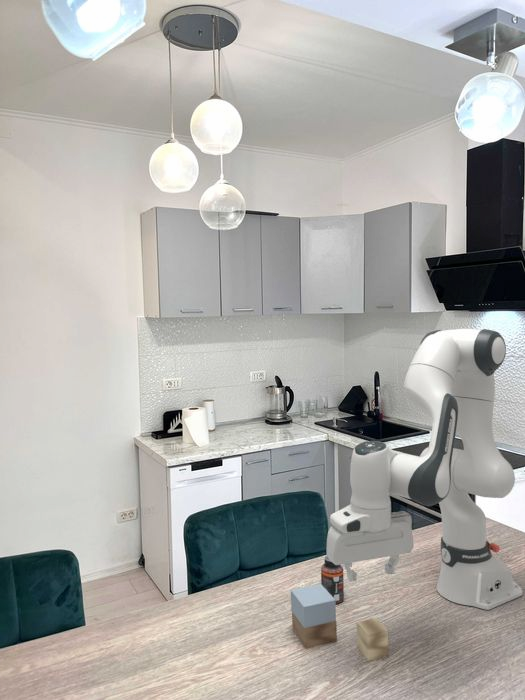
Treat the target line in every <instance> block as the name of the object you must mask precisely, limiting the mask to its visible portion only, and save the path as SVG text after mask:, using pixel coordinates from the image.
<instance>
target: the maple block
mask: <svg viewBox="0 0 525 700" xmlns="http://www.w3.org/2000/svg"><path fill="white" fill-rule="evenodd" d="M388 633H389V630H388V629H387V627H385V626H384V625H383V624H382V622H381V621H380V620H379V619H378V618H377V617H375V618H371V619H367V620H361V621H357V622H356V643H357V644H356V648H357V649H358V651H359V652H360V653H361V654H362V656H364V658H365V659H366V661H368V662H370V661H373V660H378V659H382V658H386V657H388V656H389V634H388Z"/></svg>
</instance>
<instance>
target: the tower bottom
mask: <svg viewBox="0 0 525 700" xmlns="http://www.w3.org/2000/svg"><path fill="white" fill-rule="evenodd" d="M291 621H292V622H291V623H292V625H291V627H292V632H294V634H295V636H296V637H297V639H298V640H299V642H300V643H301V645H302V647H303V648H304V649H306V650H307V649H309V648H310V649H311V648H315V647H319V646H322V645H328V644H331V643H336V642H338V641H337V640H338V639H337V638H338V636H337V633H338V632H337V620H336V621H333V622H329V623H325V624H320V625H316V626H312V627H308V628H304V627H303V626H302V624H301V623H300V621H299V620H298V619H297V617H296V616H295V615H294V613H293V612H292V611H291Z"/></svg>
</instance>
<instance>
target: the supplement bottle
mask: <svg viewBox="0 0 525 700" xmlns="http://www.w3.org/2000/svg"><path fill="white" fill-rule="evenodd" d="M323 562H324V563H323V564H322V565H321V569H320V574H321V575H320V577H321V579H320V580H321V581H320V584H321V585H322V586H323V587H324V588H325V589H326V590H327V591H328V592H329V593H330V595H331V596H332V597H333V598H334V599H335V600H336V605H337V604H340V603H342V602H343V601H344V598H345V597H344V596H345V595H344V594H345V593H344V590H345V589H344V588H345V587H344V566H343V564H341V565H335V564H334V563H332V562H331V561H330V560H329V558H328V557H327V555H326V556H325V557H324V561H323Z"/></svg>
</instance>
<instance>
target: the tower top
mask: <svg viewBox="0 0 525 700" xmlns="http://www.w3.org/2000/svg"><path fill="white" fill-rule="evenodd" d="M336 605H337V604H336V600H335V599H334V598H333V597H332V596H331V595H330V593H329V592H328V591H327V590H326V589H325V588H324V587H323V586H322V585H321V583H318V584H314V585H309V586H303V587H298V588H292V589H290V611H291V613H292V612H293V613H294V615H295V616H296V617H297V619H298V620H299V621H300V623H301V624H302V626H303V627H304V628H308V627H312V626H316V625H320V624H325V623H329V622H333V621H336V622H337V616H336V615H337V614H336V612H337V611H336V609H337V608H336V607H337V606H336Z"/></svg>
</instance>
